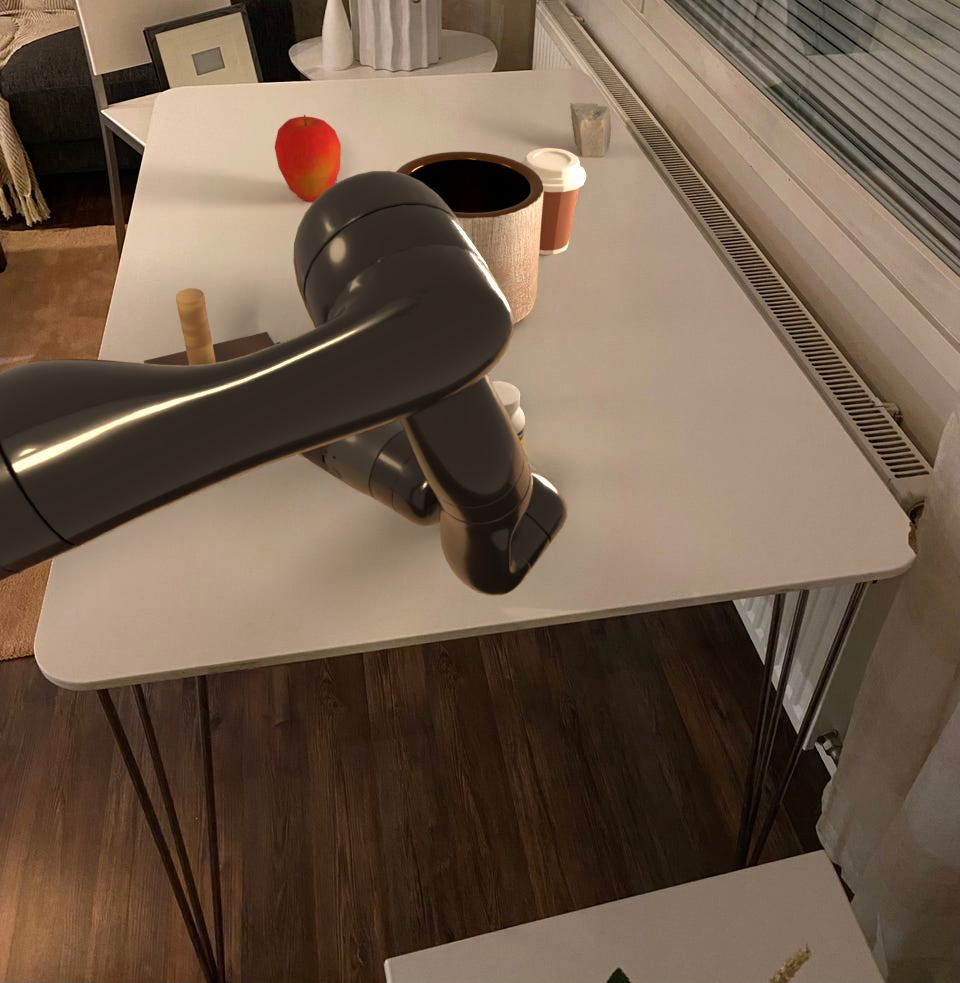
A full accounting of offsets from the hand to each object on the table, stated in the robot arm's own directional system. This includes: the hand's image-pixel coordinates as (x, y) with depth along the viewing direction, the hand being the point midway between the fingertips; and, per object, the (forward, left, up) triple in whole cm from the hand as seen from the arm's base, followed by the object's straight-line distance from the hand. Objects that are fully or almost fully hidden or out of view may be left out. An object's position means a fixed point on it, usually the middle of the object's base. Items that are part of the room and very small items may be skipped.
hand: (240, 369), depth 92 cm
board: (0, +10, -9) cm, 13 cm away
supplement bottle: (+20, -14, -9) cm, 27 cm away
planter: (+32, +16, -9) cm, 37 cm away
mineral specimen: (+71, +48, -9) cm, 86 cm away
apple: (+25, +51, -9) cm, 57 cm away
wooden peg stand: (-2, +6, -7) cm, 10 cm away
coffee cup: (+49, +25, -9) cm, 56 cm away
